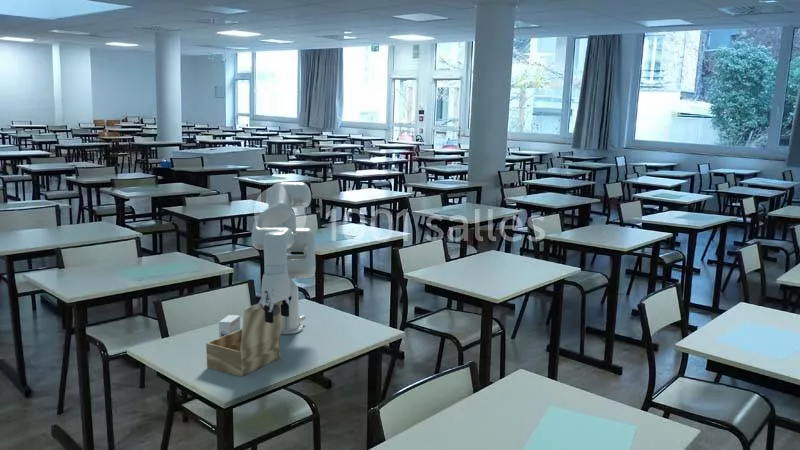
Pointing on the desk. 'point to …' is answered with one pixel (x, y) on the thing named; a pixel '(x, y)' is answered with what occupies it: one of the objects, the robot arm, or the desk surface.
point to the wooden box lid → (259, 325)
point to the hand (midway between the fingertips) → (277, 318)
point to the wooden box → (240, 354)
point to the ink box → (229, 325)
